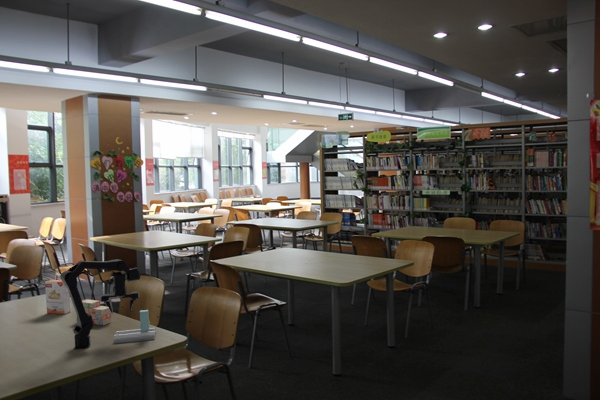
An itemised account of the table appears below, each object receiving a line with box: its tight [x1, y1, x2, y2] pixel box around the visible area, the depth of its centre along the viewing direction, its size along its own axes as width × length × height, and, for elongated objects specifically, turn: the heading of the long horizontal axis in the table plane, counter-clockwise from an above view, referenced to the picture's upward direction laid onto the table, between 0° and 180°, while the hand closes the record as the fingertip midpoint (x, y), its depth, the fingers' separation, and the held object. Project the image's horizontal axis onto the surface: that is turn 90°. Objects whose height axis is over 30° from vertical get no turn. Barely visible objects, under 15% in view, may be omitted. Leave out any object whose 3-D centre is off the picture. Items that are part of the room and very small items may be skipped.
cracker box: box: [44, 279, 72, 315], centre depth 315 cm, size 14×6×21 cm, turn 73°
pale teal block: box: [139, 309, 151, 332], centre depth 259 cm, size 5×3×13 cm, turn 102°
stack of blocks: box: [82, 299, 112, 326], centre depth 291 cm, size 21×6×12 cm, turn 60°
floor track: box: [113, 327, 157, 345], centre depth 258 cm, size 20×12×4 cm, turn 102°
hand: (121, 312), depth 261 cm, fingers open, 9 cm apart
